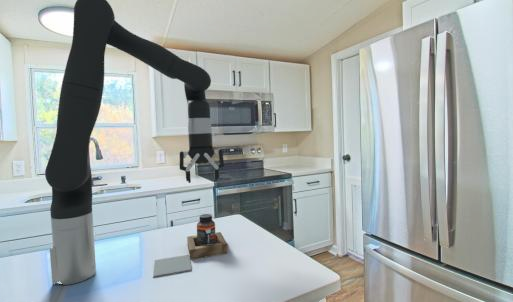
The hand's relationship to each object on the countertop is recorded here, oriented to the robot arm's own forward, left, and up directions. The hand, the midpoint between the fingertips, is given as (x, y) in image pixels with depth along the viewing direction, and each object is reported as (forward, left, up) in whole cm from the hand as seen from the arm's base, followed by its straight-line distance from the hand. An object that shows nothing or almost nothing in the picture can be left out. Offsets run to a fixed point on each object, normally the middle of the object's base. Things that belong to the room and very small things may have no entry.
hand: (202, 181), depth 89 cm
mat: (-11, -10, -22) cm, 27 cm away
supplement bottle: (0, -2, -23) cm, 23 cm away
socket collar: (0, -2, -22) cm, 22 cm away
